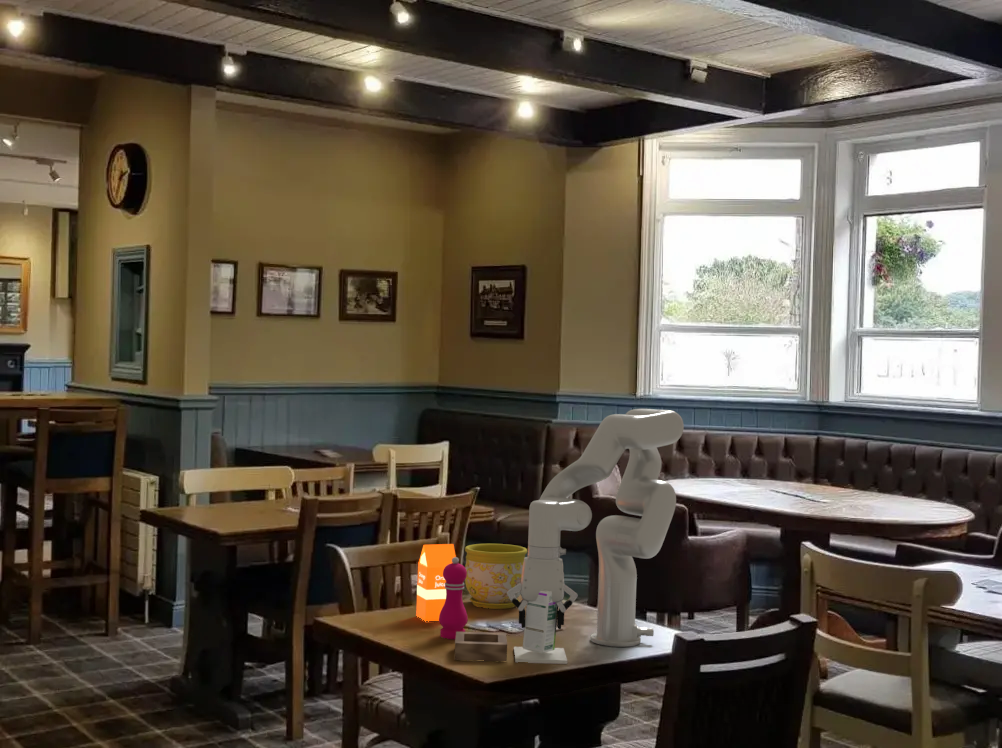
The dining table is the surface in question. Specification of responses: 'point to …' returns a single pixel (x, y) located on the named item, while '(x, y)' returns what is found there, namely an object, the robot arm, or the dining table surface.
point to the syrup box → (541, 623)
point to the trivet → (540, 656)
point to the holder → (481, 646)
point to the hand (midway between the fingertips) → (541, 627)
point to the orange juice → (432, 580)
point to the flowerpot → (493, 573)
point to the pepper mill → (453, 601)
